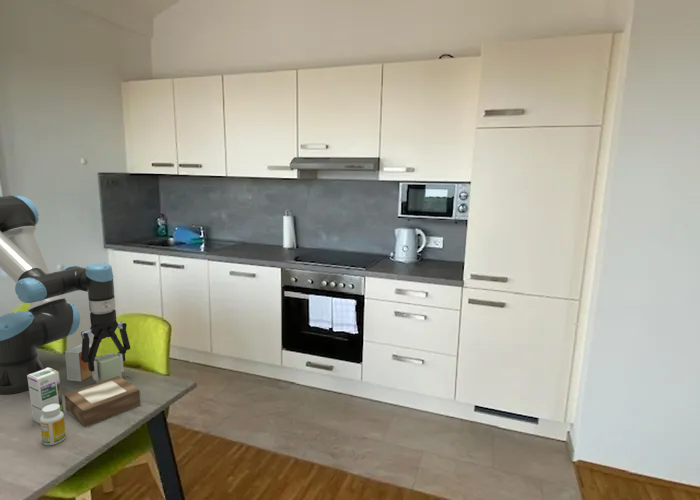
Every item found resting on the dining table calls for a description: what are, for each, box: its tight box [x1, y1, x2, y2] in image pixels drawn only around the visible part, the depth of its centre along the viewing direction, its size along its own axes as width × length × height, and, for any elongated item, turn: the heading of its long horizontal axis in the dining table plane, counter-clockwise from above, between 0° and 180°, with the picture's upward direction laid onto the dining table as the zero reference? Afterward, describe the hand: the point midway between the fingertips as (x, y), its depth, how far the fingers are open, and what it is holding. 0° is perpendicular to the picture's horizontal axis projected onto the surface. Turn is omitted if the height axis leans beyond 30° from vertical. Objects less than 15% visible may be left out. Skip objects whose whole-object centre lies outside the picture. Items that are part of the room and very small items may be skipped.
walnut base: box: [64, 376, 141, 428], centre depth 139 cm, size 14×16×5 cm
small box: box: [64, 343, 92, 383], centre depth 158 cm, size 8×6×10 cm
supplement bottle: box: [39, 404, 67, 446], centre depth 123 cm, size 5×5×10 cm
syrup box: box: [27, 367, 65, 425], centre depth 132 cm, size 6×6×14 cm
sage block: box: [95, 352, 123, 384], centre depth 155 cm, size 6×6×9 cm
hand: (108, 374), depth 155 cm, fingers open, 8 cm apart
